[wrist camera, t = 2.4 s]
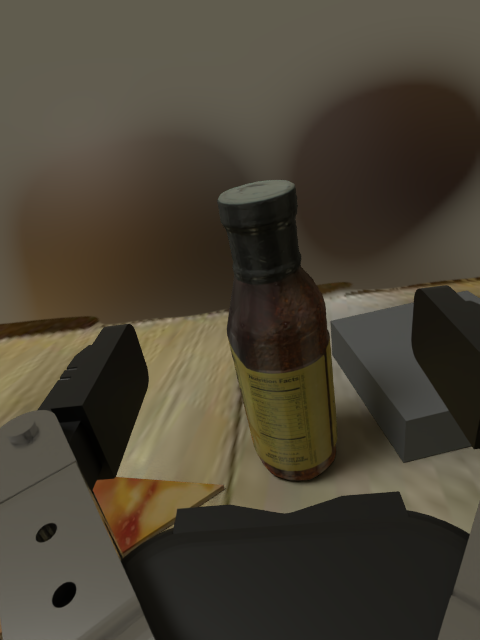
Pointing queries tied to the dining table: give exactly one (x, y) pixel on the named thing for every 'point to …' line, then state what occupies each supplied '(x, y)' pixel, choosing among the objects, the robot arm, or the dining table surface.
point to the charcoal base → (396, 381)
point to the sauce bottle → (278, 333)
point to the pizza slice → (145, 506)
